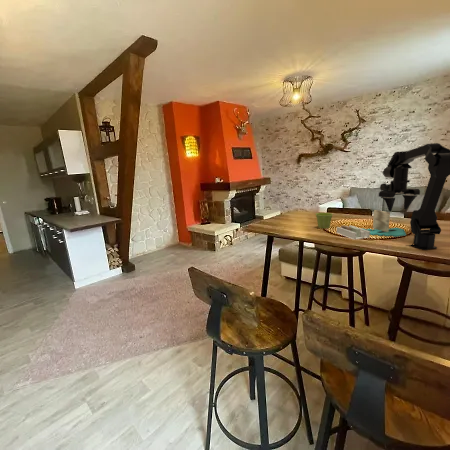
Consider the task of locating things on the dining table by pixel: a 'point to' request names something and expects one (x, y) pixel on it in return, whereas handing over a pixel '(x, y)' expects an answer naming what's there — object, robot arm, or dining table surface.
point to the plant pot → (324, 219)
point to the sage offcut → (356, 231)
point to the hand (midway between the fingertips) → (397, 210)
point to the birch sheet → (381, 220)
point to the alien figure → (392, 232)
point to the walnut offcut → (346, 227)
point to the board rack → (353, 233)
